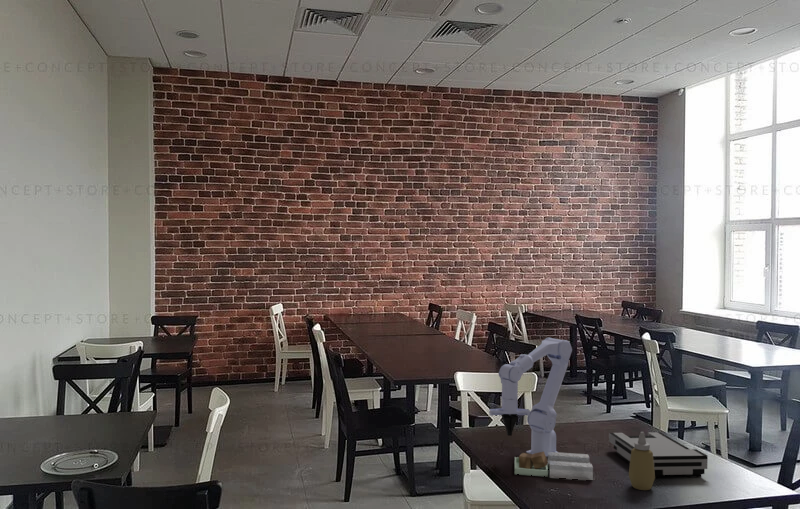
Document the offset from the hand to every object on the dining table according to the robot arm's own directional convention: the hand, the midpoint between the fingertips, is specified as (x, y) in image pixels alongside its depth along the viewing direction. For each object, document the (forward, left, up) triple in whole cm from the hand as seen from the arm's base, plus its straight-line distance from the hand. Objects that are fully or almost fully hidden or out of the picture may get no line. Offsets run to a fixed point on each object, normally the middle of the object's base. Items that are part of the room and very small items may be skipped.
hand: (509, 434), depth 228 cm
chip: (-2, +13, -8) cm, 16 cm away
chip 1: (0, +11, -7) cm, 13 cm away
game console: (-40, +35, -10) cm, 54 cm away
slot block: (-7, +21, -9) cm, 24 cm away
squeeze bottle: (-14, +44, -10) cm, 47 cm away
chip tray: (+1, +11, -9) cm, 14 cm away
